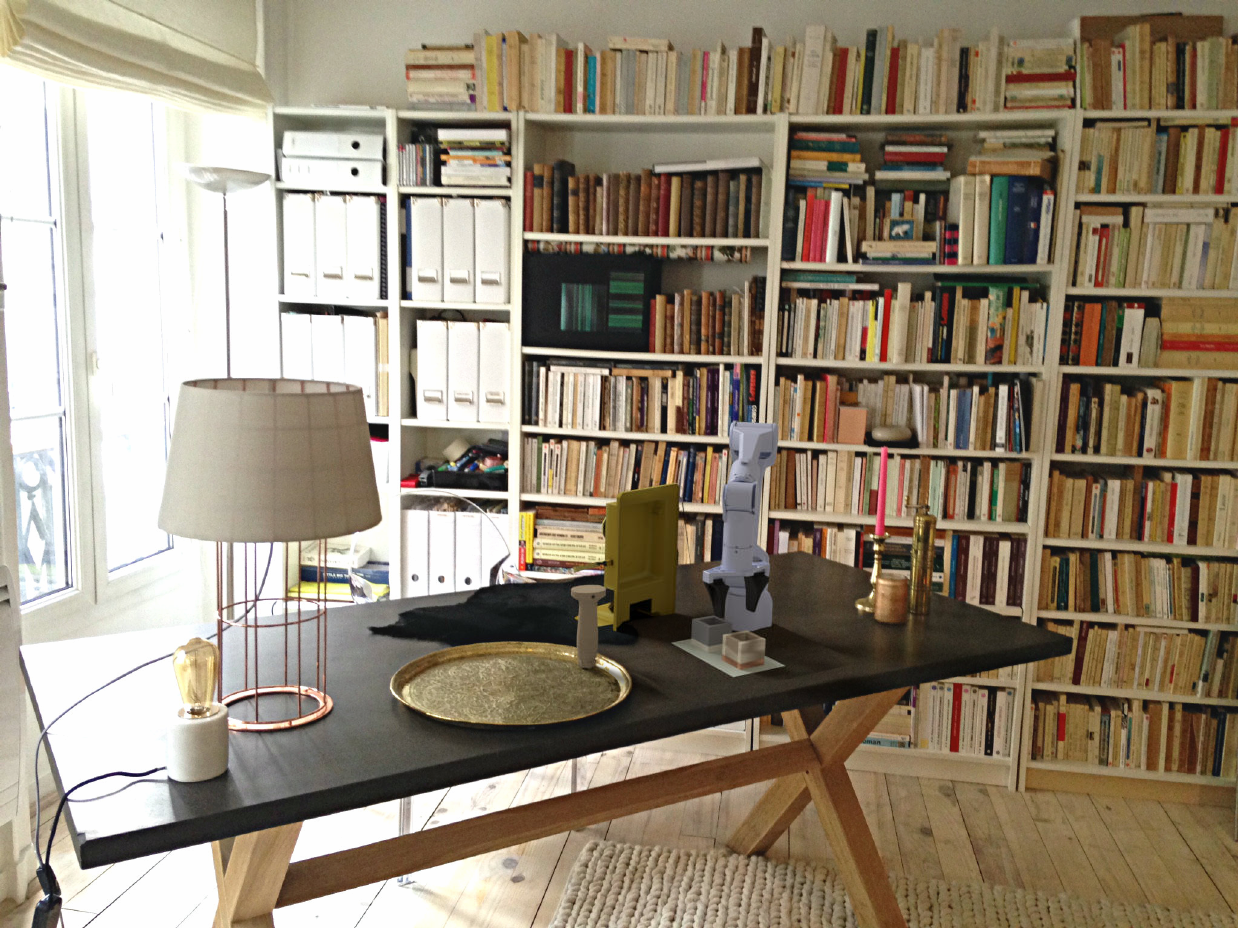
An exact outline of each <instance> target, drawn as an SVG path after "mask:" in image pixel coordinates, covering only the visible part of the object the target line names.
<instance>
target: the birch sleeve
mask: <svg viewBox="0 0 1238 928" xmlns="http://www.w3.org/2000/svg"><path fill="white" fill-rule="evenodd" d="M765 654H766V638H764V637H761V636H760V635H758V634H756V633H754V632H753V631H747V630H745V631H734V632H732V633H729V634H724V635H723V647H722V660H723V661H724V662H726V663H728V664H730V665H732V666H734V667H736V668H738V669H739V670H742V669H747V668H752V667H756V666H761V665H764V658H765V656H766V655H765Z"/></svg>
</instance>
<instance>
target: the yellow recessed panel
mask: <svg viewBox="0 0 1238 928" xmlns="http://www.w3.org/2000/svg"><path fill="white" fill-rule="evenodd" d="M680 489H681V486H680V485H679V483H676V482H672V483H667V484H661V485H660V484H659V485H656V486H649V487H645V488H637V489H632V490H627V491H621V492H620V491H619V492H618V494H617V495H616V501H612V502H606V503H605V517H604V519H603V521H602V523H601V533H602V536H603V538H604V539H605V540H604V560H598V561H595V562H591V563H589V564H585V565H577V566H572V571H573V574H576V573H578V572H581V571H584V570H588V569H594V568H595V569H596V568H598V567H599V568H600V567H601V566H603V567H604V570H603V571H604V575H603V576H604V577H603V578H604V579H603V581H604V582H603V587H605V588H606V589H607V590H608V589H609V590H611V591H613V594H614V595H613V600H612V601H611V602H608V603H605V604H601V605H597V620H598V627H603V626H609V625H612V629H613V631H614V632H617V628H618V627H620V626H621V625H622V623H623V622H627V621H629V620H630V611H636V610H638V611H637V612H640V613H642V614H646V615H649V616H651V617H655V618H656V617H657V618H658V617H663V616H667V615H668V616H669V615H674V614H676V598H677V597H676V596H677V574H678V573H677V572H678V567H679V556H680V555H679V553H680V552H679V548H678V545H679V522H680V521H679V519H680V518H679V516H680V501H681V507H682V513H683V515H682V516H683V523H684V527H685V534H686V535H685V537H686V542H687V549H688V552H690V547H689V539H688V531H687V522H686V515H685V508H684V507H685V506H684V501H683V499H682V497H681V496H680V491H681V490H680ZM688 558H689V559H691V555H690V553H688ZM689 564H690V566H692V561H689ZM690 571H691V573H693V569H692V568H690ZM690 576H691V574H689V575H688V576H686V579H688V578H689V577H690ZM682 583H683V581H681V582H680V583H679V584H678V586H679V585H681V584H682ZM634 609H636V610H634ZM578 618H579V614H578V615H577V616H575V617H574V619H575V620H576V621H577V622H578Z"/></svg>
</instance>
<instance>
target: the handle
mask: <svg viewBox="0 0 1238 928" xmlns="http://www.w3.org/2000/svg"><path fill="white" fill-rule="evenodd" d="M606 590H607V588H605V587H604V585H603V586H602V585H599V584H584V585H576V586H573V587H572V588H571V589H570V591H571V592H570V595H571V597H572V598H573V599H575V600H576V601H578V615H579V618H578V621H577V633H576V651H577V652H576V653H577V658H578V659H577V664H578V666H579V667H580V668H581V669H592V668H594V667H596V664H597V655H598V649H599V626H598V620H597V606H598V602H599V601H600V600H601V599H602V598H604V597H606V594H607V593H606V592H607V591H606Z"/></svg>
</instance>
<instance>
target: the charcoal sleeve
mask: <svg viewBox="0 0 1238 928" xmlns="http://www.w3.org/2000/svg"><path fill="white" fill-rule="evenodd" d="M732 624H733V623H731V622H729V621H726V620H725V618H718V617H716V616H714V614H713V615H709V616H704V617H703V616H701V617H697V618H692V619H691V638H690V639H691V644H693V645H695V646H697V647H698V648H700V649H702V650H704V651H706V652H708V653H709V652H714V651H719V650H722V647H723V635H724V634H729V633H733V630H732Z"/></svg>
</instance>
